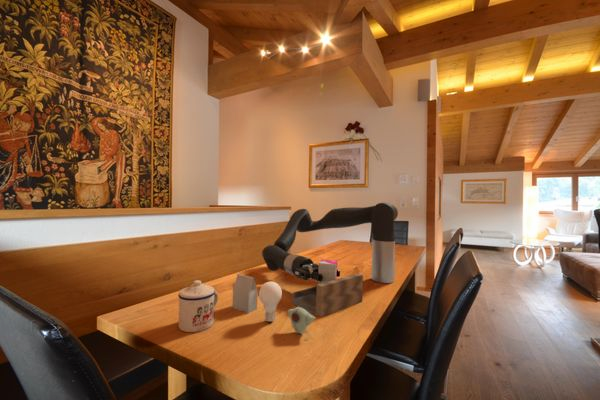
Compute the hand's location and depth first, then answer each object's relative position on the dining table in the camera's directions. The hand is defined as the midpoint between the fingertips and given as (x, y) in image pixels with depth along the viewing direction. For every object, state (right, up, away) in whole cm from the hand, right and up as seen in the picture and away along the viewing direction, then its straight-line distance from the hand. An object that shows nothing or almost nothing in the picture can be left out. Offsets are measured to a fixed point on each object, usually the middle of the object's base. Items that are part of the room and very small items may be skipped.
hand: (330, 275), depth 89 cm
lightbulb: (-19, -9, -14) cm, 25 cm away
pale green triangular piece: (-10, -9, -20) cm, 25 cm away
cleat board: (-1, -9, +1) cm, 9 cm away
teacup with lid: (-37, -8, -16) cm, 41 cm away
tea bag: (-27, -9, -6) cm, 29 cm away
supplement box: (-1, -7, +1) cm, 7 cm away
